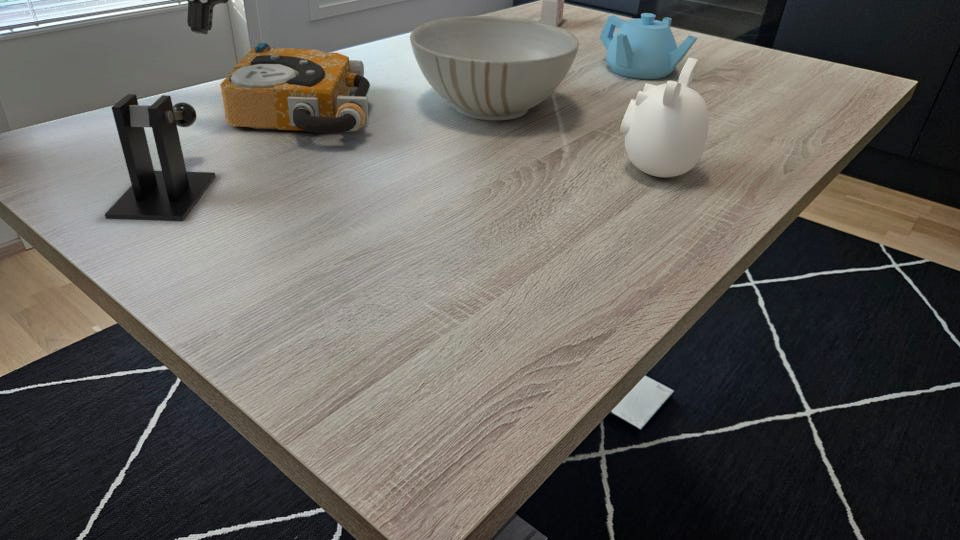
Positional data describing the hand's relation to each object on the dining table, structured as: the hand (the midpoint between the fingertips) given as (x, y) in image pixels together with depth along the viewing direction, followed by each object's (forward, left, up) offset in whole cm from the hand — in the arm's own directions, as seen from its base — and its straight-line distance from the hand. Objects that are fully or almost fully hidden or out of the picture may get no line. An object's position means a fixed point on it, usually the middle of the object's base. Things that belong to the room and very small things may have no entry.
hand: (199, 32), depth 96 cm
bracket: (0, -20, -15) cm, 25 cm away
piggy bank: (+64, -7, -15) cm, 66 cm away
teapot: (+71, +41, -15) cm, 83 cm away
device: (+11, +10, -15) cm, 21 cm away
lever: (0, -16, -8) cm, 17 cm away
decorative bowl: (+41, +16, -15) cm, 46 cm away
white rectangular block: (+56, +75, -15) cm, 95 cm away
